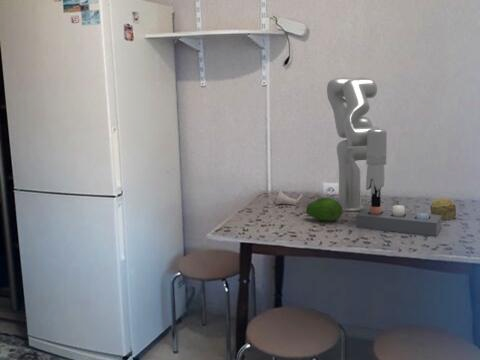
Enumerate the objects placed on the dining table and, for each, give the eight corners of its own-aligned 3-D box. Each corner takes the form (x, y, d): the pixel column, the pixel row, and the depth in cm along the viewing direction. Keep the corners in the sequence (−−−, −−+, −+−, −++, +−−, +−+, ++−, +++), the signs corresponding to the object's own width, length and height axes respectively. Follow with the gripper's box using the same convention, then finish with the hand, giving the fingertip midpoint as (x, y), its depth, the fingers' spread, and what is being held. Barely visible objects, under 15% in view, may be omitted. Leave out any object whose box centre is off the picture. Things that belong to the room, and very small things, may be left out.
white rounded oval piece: (391, 219, 191) (391, 207, 190) (394, 216, 195) (394, 204, 194) (402, 220, 189) (403, 208, 188) (405, 218, 192) (405, 205, 192)
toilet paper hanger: (295, 212, 232) (299, 196, 231) (275, 206, 234) (278, 191, 233) (301, 203, 254) (305, 189, 253) (283, 198, 257) (286, 184, 255)
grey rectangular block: (356, 227, 195) (356, 214, 194) (365, 219, 205) (365, 208, 204) (436, 236, 180) (436, 223, 179) (441, 227, 190) (442, 215, 189)
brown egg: (368, 219, 196) (368, 206, 195) (371, 216, 199) (371, 204, 198) (379, 220, 193) (379, 207, 193) (382, 217, 197) (382, 205, 196)
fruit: (303, 222, 205) (302, 199, 203) (310, 216, 214) (309, 194, 212) (339, 225, 198) (339, 201, 197) (344, 219, 207) (344, 196, 205)
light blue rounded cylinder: (415, 227, 187) (415, 214, 186) (417, 224, 190) (417, 212, 190) (427, 228, 185) (427, 216, 184) (429, 226, 188) (429, 213, 187)
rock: (452, 229, 199) (466, 208, 198) (427, 215, 200) (440, 194, 199) (446, 224, 209) (459, 204, 207) (422, 211, 210) (435, 191, 208)
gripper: (372, 157, 200) (371, 201, 203) (361, 162, 188) (360, 209, 191) (390, 158, 196) (390, 203, 200) (380, 163, 184) (380, 211, 187)
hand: (375, 206), depth 195 cm, fingers closed
